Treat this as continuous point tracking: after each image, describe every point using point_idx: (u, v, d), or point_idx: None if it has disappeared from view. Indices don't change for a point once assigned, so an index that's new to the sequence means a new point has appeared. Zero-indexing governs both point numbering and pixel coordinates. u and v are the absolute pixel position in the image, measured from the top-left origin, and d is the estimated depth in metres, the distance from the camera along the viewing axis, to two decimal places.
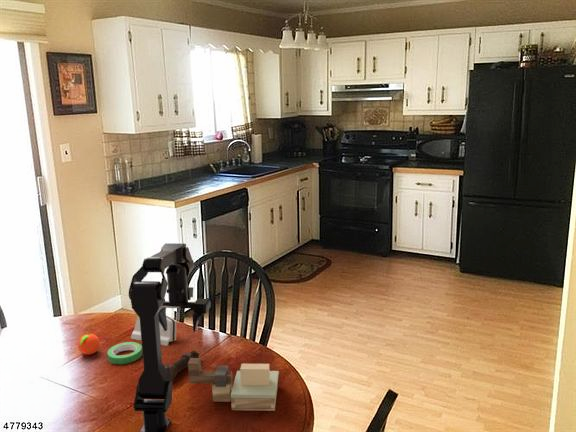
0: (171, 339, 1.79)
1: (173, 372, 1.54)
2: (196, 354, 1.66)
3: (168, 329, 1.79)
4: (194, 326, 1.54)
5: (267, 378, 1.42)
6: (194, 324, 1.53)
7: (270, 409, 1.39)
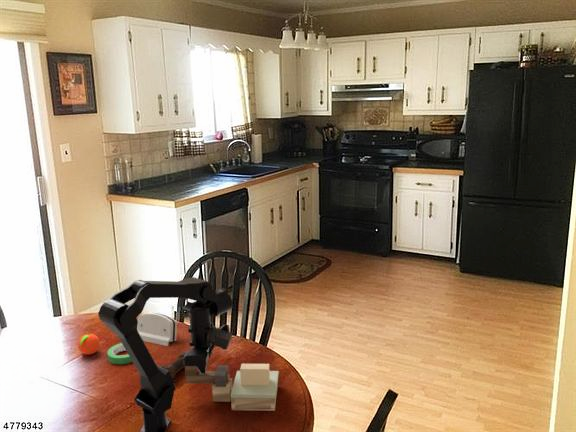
0: (171, 339, 1.79)
1: (172, 372, 1.54)
2: None
3: (168, 329, 1.79)
4: None
5: (267, 378, 1.42)
6: None
7: (270, 409, 1.39)
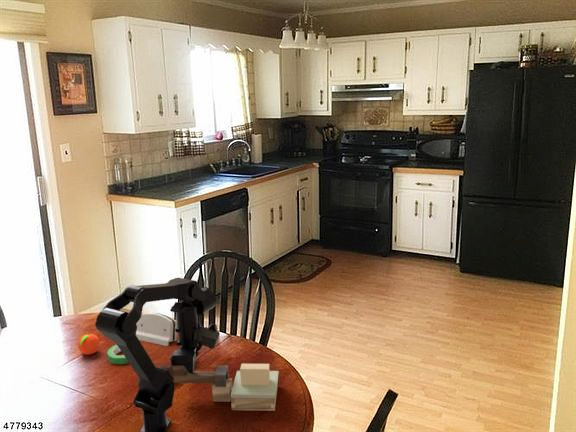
0: (171, 339, 1.79)
1: (172, 372, 1.54)
2: None
3: (168, 329, 1.79)
4: None
5: (267, 378, 1.42)
6: None
7: (270, 409, 1.39)
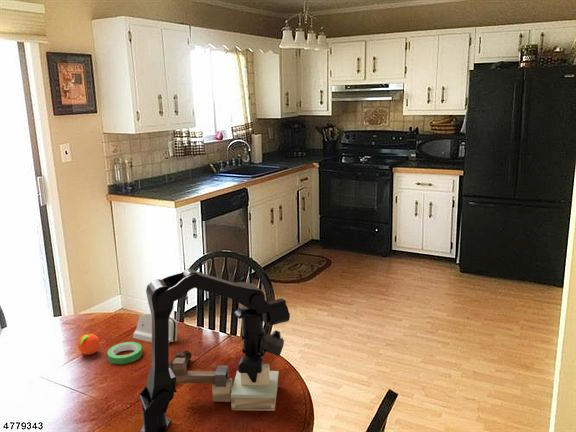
0: (172, 339, 1.79)
1: None
2: (189, 353, 1.66)
3: (169, 329, 1.79)
4: None
5: (267, 378, 1.42)
6: None
7: (270, 409, 1.39)
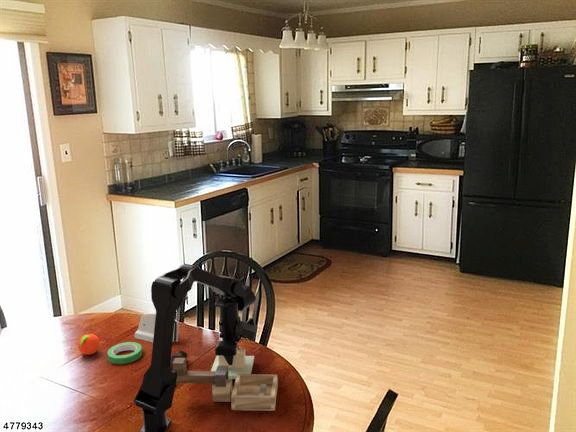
0: None
1: None
2: (185, 354, 1.66)
3: None
4: None
5: (242, 362, 1.57)
6: None
7: (270, 409, 1.39)
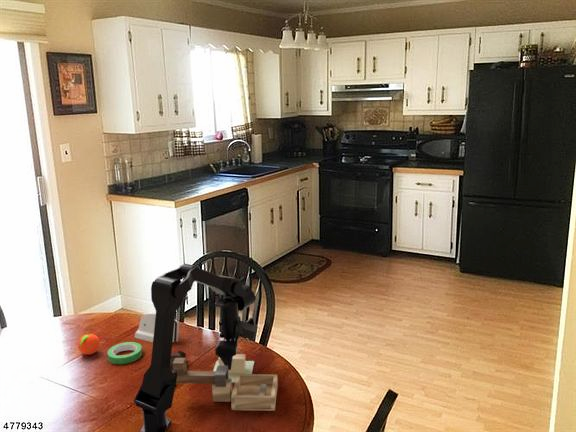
0: (173, 340, 1.78)
1: None
2: (183, 354, 1.66)
3: None
4: None
5: (243, 367, 1.57)
6: None
7: (270, 409, 1.39)
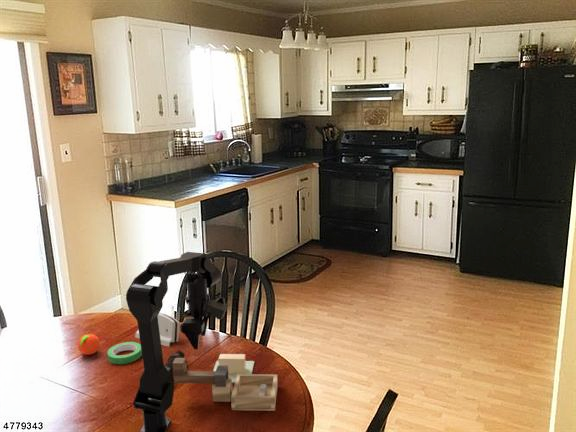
0: (173, 340, 1.78)
1: None
2: (182, 353, 1.66)
3: (170, 330, 1.79)
4: None
5: (243, 367, 1.57)
6: None
7: (270, 409, 1.39)
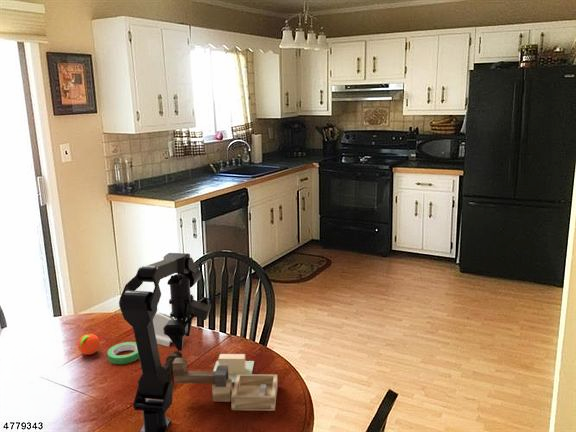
0: None
1: None
2: (180, 354, 1.66)
3: None
4: None
5: (243, 367, 1.57)
6: None
7: (270, 409, 1.39)
